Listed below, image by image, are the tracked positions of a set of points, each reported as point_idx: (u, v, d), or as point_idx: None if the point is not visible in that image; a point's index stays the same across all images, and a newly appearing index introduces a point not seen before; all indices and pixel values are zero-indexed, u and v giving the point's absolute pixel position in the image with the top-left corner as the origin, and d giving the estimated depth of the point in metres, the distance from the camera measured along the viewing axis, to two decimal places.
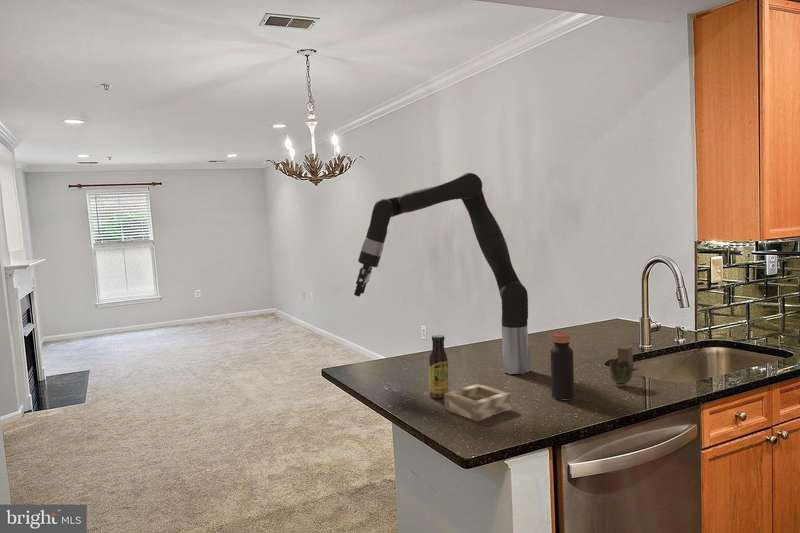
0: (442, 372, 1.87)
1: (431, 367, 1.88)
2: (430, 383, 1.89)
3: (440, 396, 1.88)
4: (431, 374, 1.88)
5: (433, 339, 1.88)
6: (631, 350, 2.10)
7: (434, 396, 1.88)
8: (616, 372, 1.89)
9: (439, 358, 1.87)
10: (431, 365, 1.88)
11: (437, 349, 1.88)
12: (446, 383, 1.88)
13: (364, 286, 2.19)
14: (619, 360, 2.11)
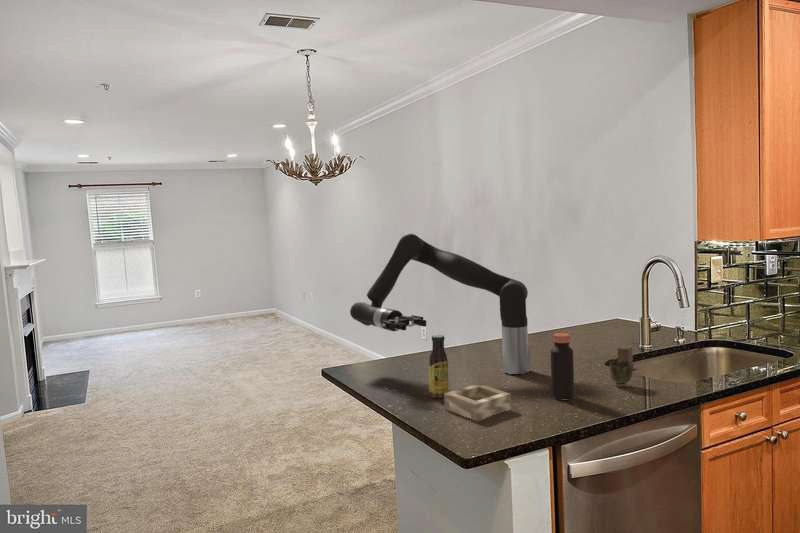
0: (442, 372, 1.87)
1: (431, 367, 1.88)
2: (430, 383, 1.89)
3: (440, 396, 1.88)
4: (431, 374, 1.88)
5: (433, 339, 1.88)
6: (631, 350, 2.10)
7: (434, 396, 1.88)
8: (616, 372, 1.89)
9: (439, 358, 1.87)
10: (431, 365, 1.88)
11: (437, 349, 1.88)
12: (446, 383, 1.88)
13: (419, 320, 2.02)
14: (619, 360, 2.11)
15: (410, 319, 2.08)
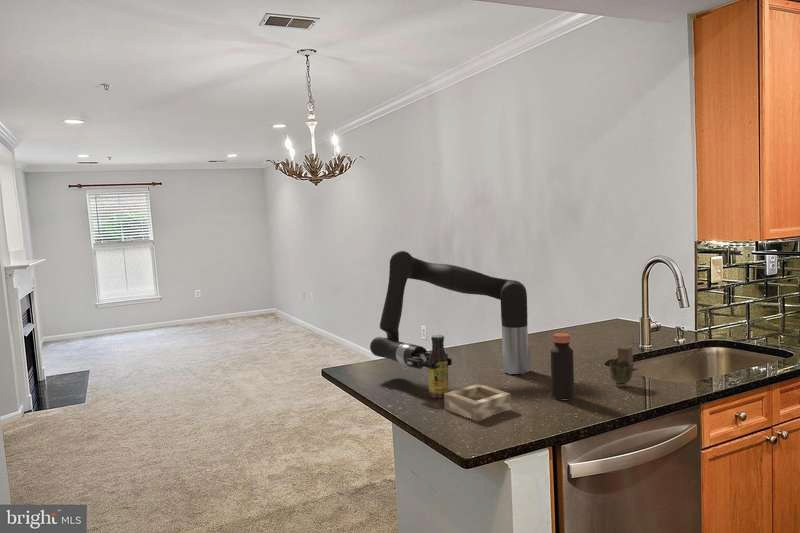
0: (442, 372, 1.87)
1: None
2: (430, 383, 1.89)
3: (440, 396, 1.88)
4: (431, 374, 1.88)
5: (433, 339, 1.88)
6: (631, 350, 2.10)
7: (434, 396, 1.88)
8: (616, 372, 1.89)
9: (439, 358, 1.87)
10: None
11: (437, 349, 1.87)
12: (446, 383, 1.88)
13: None
14: (619, 360, 2.11)
15: None
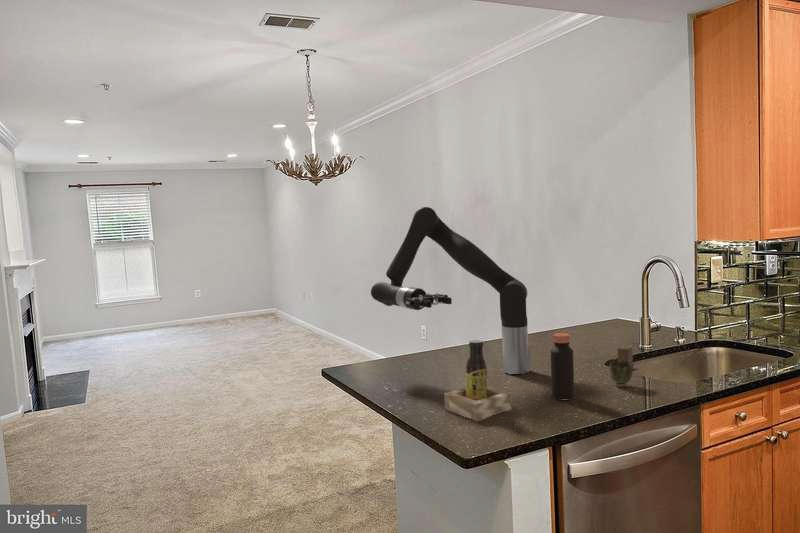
0: (481, 380, 1.73)
1: (469, 375, 1.73)
2: (467, 392, 1.74)
3: None
4: (469, 382, 1.73)
5: (471, 345, 1.73)
6: (631, 350, 2.10)
7: None
8: (616, 372, 1.89)
9: (478, 365, 1.72)
10: (469, 373, 1.73)
11: (475, 356, 1.73)
12: (485, 392, 1.74)
13: (444, 298, 1.96)
14: (619, 360, 2.11)
15: (434, 297, 2.02)
